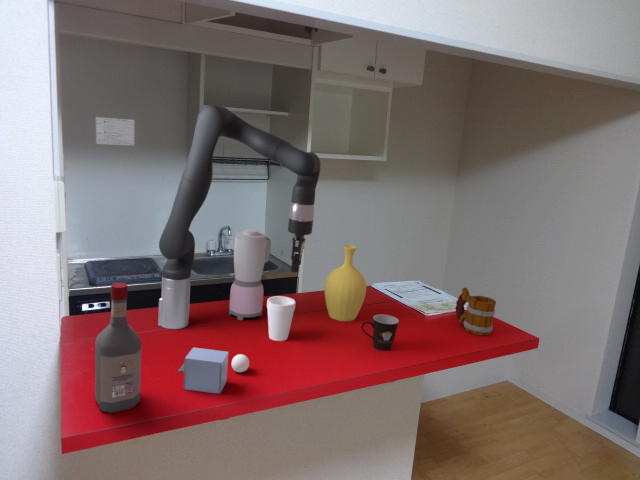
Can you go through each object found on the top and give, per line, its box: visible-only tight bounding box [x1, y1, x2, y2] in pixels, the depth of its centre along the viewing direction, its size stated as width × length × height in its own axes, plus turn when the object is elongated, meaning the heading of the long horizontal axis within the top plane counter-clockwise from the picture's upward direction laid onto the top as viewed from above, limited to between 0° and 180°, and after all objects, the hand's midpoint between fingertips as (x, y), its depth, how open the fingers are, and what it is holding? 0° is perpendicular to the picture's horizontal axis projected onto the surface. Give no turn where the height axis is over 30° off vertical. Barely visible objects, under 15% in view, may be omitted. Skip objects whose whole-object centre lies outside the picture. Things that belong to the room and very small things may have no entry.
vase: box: [324, 244, 367, 322], centre depth 192 cm, size 16×16×28 cm
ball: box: [231, 353, 250, 373], centre depth 143 cm, size 5×5×5 cm
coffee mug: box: [361, 314, 400, 352], centre depth 170 cm, size 12×9×10 cm
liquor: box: [94, 282, 142, 414], centre depth 119 cm, size 9×9×30 cm
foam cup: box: [266, 295, 296, 342], centre depth 168 cm, size 10×9×13 cm
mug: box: [455, 287, 497, 336], centre depth 194 cm, size 11×16×15 cm, turn 41°
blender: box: [228, 228, 272, 321], centre depth 184 cm, size 16×12×32 cm
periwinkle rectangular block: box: [183, 347, 229, 395], centre depth 133 cm, size 10×7×9 cm
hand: (296, 268), depth 157 cm, fingers open, 8 cm apart
